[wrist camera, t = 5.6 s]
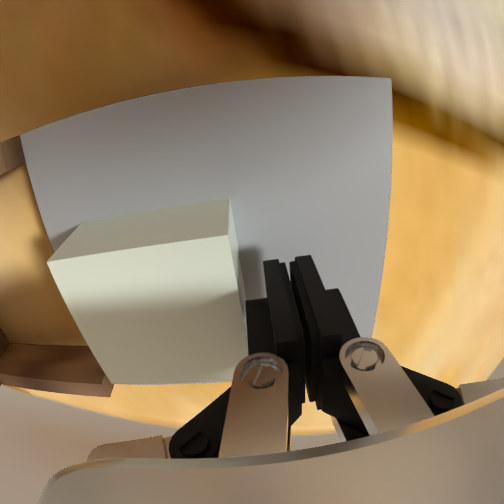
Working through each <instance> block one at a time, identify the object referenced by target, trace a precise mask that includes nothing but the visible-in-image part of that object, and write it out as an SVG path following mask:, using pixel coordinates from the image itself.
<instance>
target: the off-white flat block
mask: <svg viewBox="0 0 504 504" xmlns="http://www.w3.org/2000/svg"><path fill="white" fill-rule="evenodd" d="M47 264H48V267H49V269H50V271H51V274H52V276H53V278H54V280H55V282H56V285H57V287H58V289H59V291H60V293H61V295H62V297H63V299H64V301H65V303H66V305H67V307H68V309H69V311H70V313H71V315H72V317H73V319H74V321H75V323H76V325H77V326H78V328H79V330H80V332H81V334H82V336H83V337H84V339H85V341H86V343H87V344H88V346H89V348H90V350H91V351H92V353H93V355H94V356H95V358H96V360H97V361H98V363H99V365H100V366H101V368H102V369H103V371H104V373H105V374H106V376H107V377H108V379H109V380H110V382H111V383H112V384H167V383H190V382H207V381H220V380H232V379H233V375H234V371H235V368H236V366H237V364H238V363H239V362H240V361H241V360H242V359H244V358H245V357H247V356H248V341H247V324H246V306H245V300H247V299H246V293H245V287H244V281H243V275H242V269H241V263H240V257H239V251H238V245H237V239H236V232H235V226H234V220H233V214H232V207H231V201H230V198H223V199H216V200H210V201H203V202H196V203H190V204H184V205H177V206H171V207H165V208H159V209H153V210H148V211H142V212H136V213H131V214H125V215H120V216H115V217H109V218H104V219H99V220H94V221H89V222H84V223H81V224H80V225H79V226H78V227H77V228H76V229H75V230H74V231H73V233H72V234H71V235H70V236H69V237H68V238H67V239H66V240H65V241H64V242H63V243H62V245H61V246H60V247H59V248H58V249H57V250H56V251H55V253H54V254H53V255H52V256H51V257H50V258H49V259H48V261H47Z"/></svg>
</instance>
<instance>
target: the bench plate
mask: <svg viewBox="0 0 504 504" xmlns="http://www.w3.org/2000/svg"><path fill="white" fill-rule="evenodd" d="M20 138H21V143H22V148H23V152H24V156H25V161H26V165H27V169H28V173H29V177H30V180H31V184H32V188H33V191H34V195H35V198H36V201H37V205H38V208H39V211H40V214H41V217H42V220H43V223H44V226H45V229H46V232H47V235H48V238H49V240H50V243H51V246H52V249H53V251H54V253H55V251H56V250H57V249H58V248H59V247H60V246H61V245H62V243H63V242H64V241H65V240H66V239H67V238H68V237H69V236H70V235H71V234H72V233H73V231H74V230H75V229H76V228H77V227H78V226H79V225H80V224H81V223H84V222H89V221H94V220H99V219H104V218H109V217H115V216H120V215H125V214H131V213H136V212H142V211H148V210H153V209H159V208H165V207H171V206H177V205H184V204H190V203H196V202H203V201H210V200H216V199H223V198H230V201H231V207H232V214H233V220H234V226H235V232H236V239H237V245H238V251H239V257H240V263H241V269H242V275H243V281H244V287H245V293H246V299H247V300H253V299H261V298H267V295H266V286H265V277H264V268H263V261H265V260H273V259H279V263H283V262H285V264H286V267H287V271H288V275H289V279H290V266H289V262H291V261H295V257H297V256H305V255H311V256H312V259H313V261H314V263H315V266H316V268H317V271H318V273H319V275H320V278H321V280H322V283H323V285H324V288H325V290H327V289H334V288H338V289H339V291H340V292H341V295H342V297H343V299H344V301H345V303H346V305H347V308H348V310H349V312H350V314H351V317H352V319H353V321H354V323H355V325H356V328H357V330H358V332H359V335H360V337H369V338H372V333H373V328H374V323H375V317H376V312H377V306H378V300H379V294H380V287H381V280H382V273H383V266H384V258H385V250H386V241H387V231H388V220H389V208H390V193H391V174H392V87H391V78H378V77H358V76H297V77H276V78H262V79H250V80H240V81H231V82H223V83H215V84H208V85H201V86H195V87H189V88H183V89H177V90H172V91H166V92H161V93H157V94H152V95H147V96H143V97H138V98H134V99H130V100H126V101H122V102H118V103H114V104H110V105H107V106H103V107H99V108H96V109H93V110H89V111H86V112H83V113H79V114H76V115H73V116H70V117H67V118H64V119H61V120H58V121H55V122H52V123H50V124H47V125H44V126H41V127H39V128H36V129H34V130H31V131H28V132H26V133H24V134H21V135H20ZM232 380H233V379H232ZM232 380H220V381H207V382H190V383H167V384H197V383H216V382H231V381H232ZM137 385H162V384H137Z"/></svg>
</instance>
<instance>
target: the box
mask: <svg viewBox="0 0 504 504" xmlns="http://www.w3.org/2000/svg"><path fill="white" fill-rule="evenodd" d="M25 162H26V161H25V156H24V152H23V148H22V143H21V138H20V135H19V136H16V137H14V138H11V139H8V140H6V141H3V142H1V143H0V175H1V174H3V173H6V172H8V171H10V170H12V169H14V168H16V167H18V166H20V165H21V164H23V163H25ZM1 384H4V385H9V386H15V387H21V388H27V389H34V390H41V391H48V392H56V393H65V394H75V395H86V396H99V397H110V396H111V392H112V389H113V386H114V384H112V383H111V382H110V380H109V379H108V377H107V376H106V374H105V373H104V371H103V369H102V368H101V366H100V365H99V363H98V361H97V360H96V358H95V356H94V355H93V353H92V351H91V350H90V348H89V346H49V345H26V344H10V343H9V342H8V341H7V339H6V338H5V336H4V334H3V333H2V331H1V329H0V385H1Z"/></svg>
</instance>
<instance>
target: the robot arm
mask: <svg viewBox="0 0 504 504" xmlns="http://www.w3.org/2000/svg"><path fill="white" fill-rule="evenodd" d="M289 266H290V279H289V275H288V271H287V267H286V264H285V262H283V263H279V259H273V260H265V261H263V268H264V277H265V286H266V295H267V298H261V299H253V300H245V306H246V324H247V341H248V356H247V357H245V358H244V359H242V360H241V361H240V362H239V363H238V364H237V366H236V368H235V371H234V375H233V380H232V386H231V387H230V388H229V389H228V390H226V391H225V392H224V393H223V394H222V395H220V396H219V397H218V398H217V399H216V400H215V401H213V402H212V403H211V404H210V405H209V406H207V407H206V408H205V409H204V410H202V411H201V412H200V413H199V414H198V415H196V416H195V417H194V418H193V419H191V420H190V421H189V422H188V423H186V424H185V425H184V426H183V427H181V428H180V429H179V430H178V431H177V432H176V433H175V434H174V435H173V436H172V437H166V438H163V436H162V435H160V436H155V437H149V438H144V439H137V440H131V441H124V442H116V443H108V444H103V445H100V446H97V447H96V448H94V449H93V450H92V451H91V453H90V454H89V456H88V459H87V462H82V463H79V464H75V465H72V466H69V467H67V468H64V469H62V470H60V471H59V472H57V473H55V474H54V475H53V476H52V477H51V478H50V479H49V480H48V482H47V484H46V485H45V487H44V489H43V491H42V493H41V496H40V499H39V501H38V504H504V378H499V379H494V380H488V381H482V382H475V383H468V384H461V385H459V387H458V388H454V387H452V386H451V385H449V384H446V383H444V382H441V381H438V380H436V379H433V378H431V377H428V376H425V375H423V374H420V373H418V372H415V371H413V370H410V369H407V368H405V367H402V366H400V365H399V363H398V362H397V360H396V359H395V358H394V356H393V355H392V353H391V352H390V351H389V349H388V348H387V347H386V346H385V345H384V344H383V343H382V342H380V341H378V340H377V339H373V338H369V337H360V335H359V332H358V330H357V328H356V325H355V323H354V321H353V319H352V317H351V314H350V312H349V310H348V308H347V305H346V303H345V301H344V299H343V297H342V295H341V292H340V291H339V289H338V288H334V289H327V290H325V288H324V285H323V283H322V280H321V278H320V275H319V273H318V271H317V268H316V266H315V263H314V261H313V259H312V256H311V255H305V256H297V257H295V261H291V262H289ZM305 383H306V388H307V393H308V397H309V401H310V402H313V401H315V402H316V406H317V410H320V409H322V411H323V412H325V413H327V414H329V415H331V418H332V422H333V425H334V427H335V429H336V431H337V434H338V436H339V438H340V440H341V443H336V444H331V445H326V446H321V447H315V448H309V449H303V450H296V451H291V425H292V424H293V423H294V422H295V421H296V420H297V419H298V418H299V417H300V416H301V414H302V403H305Z"/></svg>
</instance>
